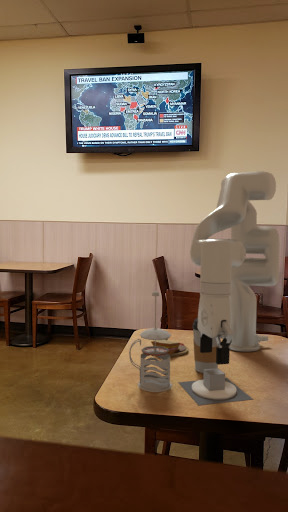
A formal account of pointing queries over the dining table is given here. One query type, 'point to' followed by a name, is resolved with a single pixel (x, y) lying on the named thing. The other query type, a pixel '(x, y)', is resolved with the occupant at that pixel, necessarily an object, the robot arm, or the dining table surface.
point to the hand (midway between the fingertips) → (213, 357)
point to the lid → (214, 386)
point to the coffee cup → (200, 358)
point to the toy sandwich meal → (172, 347)
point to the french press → (153, 379)
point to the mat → (204, 401)
